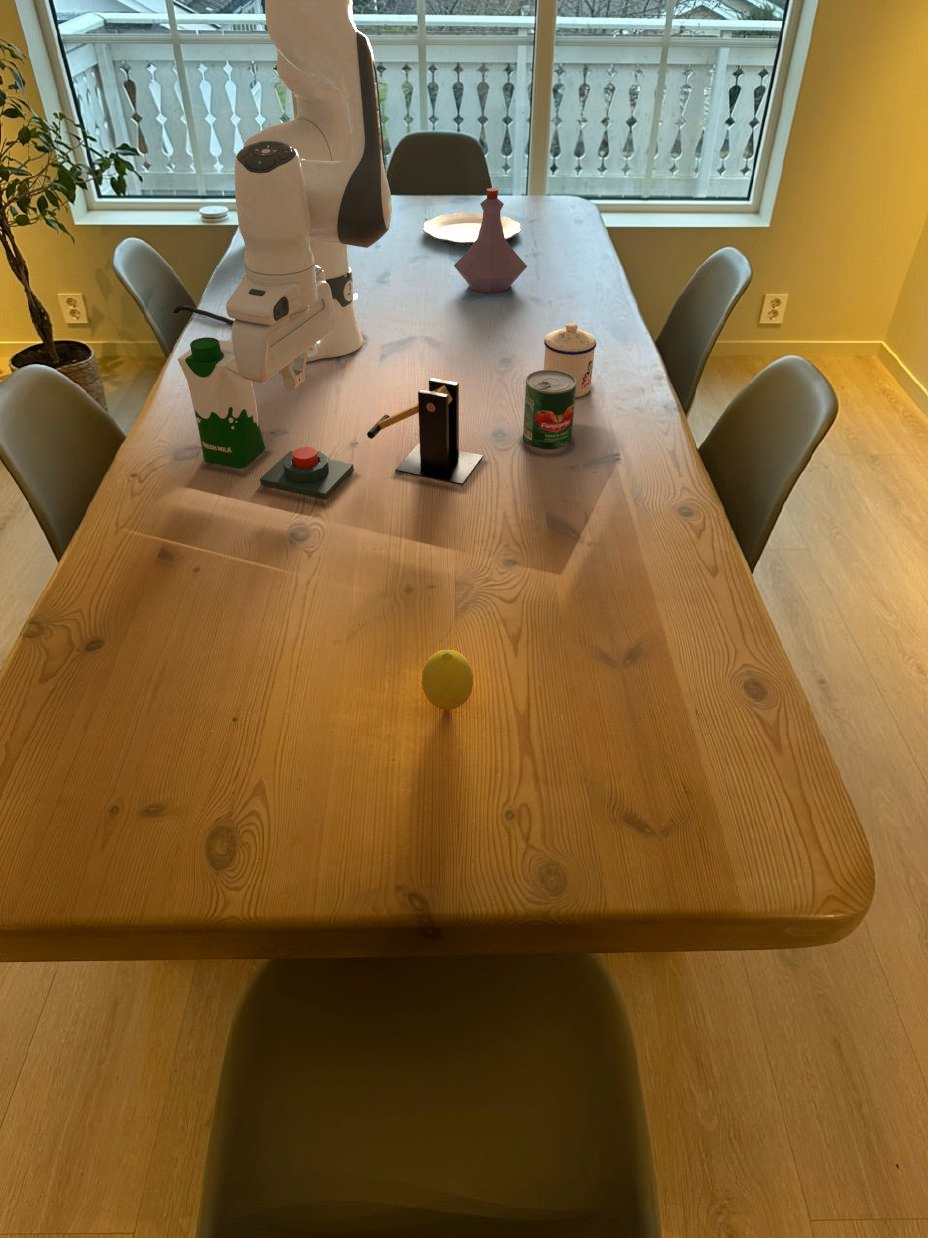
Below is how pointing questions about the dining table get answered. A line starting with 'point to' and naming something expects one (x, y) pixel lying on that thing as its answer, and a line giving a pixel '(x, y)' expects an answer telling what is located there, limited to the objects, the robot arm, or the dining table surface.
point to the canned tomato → (549, 408)
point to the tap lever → (401, 415)
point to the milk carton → (222, 404)
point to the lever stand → (439, 438)
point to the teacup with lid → (571, 355)
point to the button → (305, 457)
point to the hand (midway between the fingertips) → (294, 384)
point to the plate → (464, 227)
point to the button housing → (308, 476)
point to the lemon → (447, 679)
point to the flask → (490, 253)
